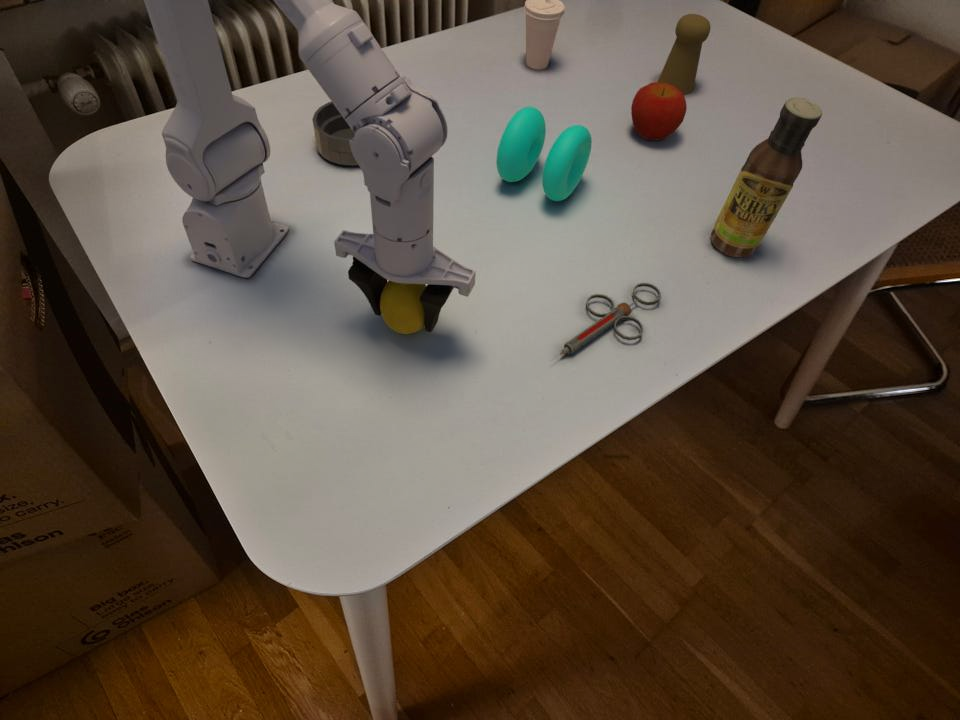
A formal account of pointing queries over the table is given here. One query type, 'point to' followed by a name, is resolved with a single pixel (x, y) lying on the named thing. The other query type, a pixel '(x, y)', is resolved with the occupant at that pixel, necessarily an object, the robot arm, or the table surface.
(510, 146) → the donuts
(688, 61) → the pawn
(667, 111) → the apple
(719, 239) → the sauce bottle
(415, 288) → the lemon
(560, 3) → the smoothie
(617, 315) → the syringe
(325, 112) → the bowl
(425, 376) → the table surface
